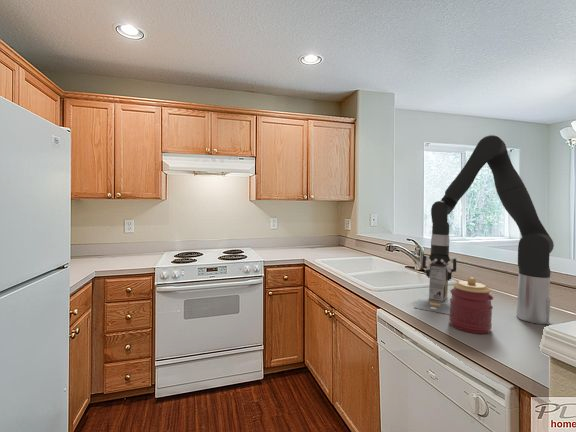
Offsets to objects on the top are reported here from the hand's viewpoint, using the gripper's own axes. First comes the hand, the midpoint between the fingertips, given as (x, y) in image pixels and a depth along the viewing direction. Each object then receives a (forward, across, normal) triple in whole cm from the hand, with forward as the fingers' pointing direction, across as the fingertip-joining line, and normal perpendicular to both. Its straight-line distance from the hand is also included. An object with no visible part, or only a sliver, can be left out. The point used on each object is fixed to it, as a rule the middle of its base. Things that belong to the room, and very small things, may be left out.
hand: (438, 278), depth 138 cm
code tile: (+9, 0, +15) cm, 17 cm away
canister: (+9, -13, +31) cm, 35 cm away
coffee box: (+9, 0, 0) cm, 9 cm away
